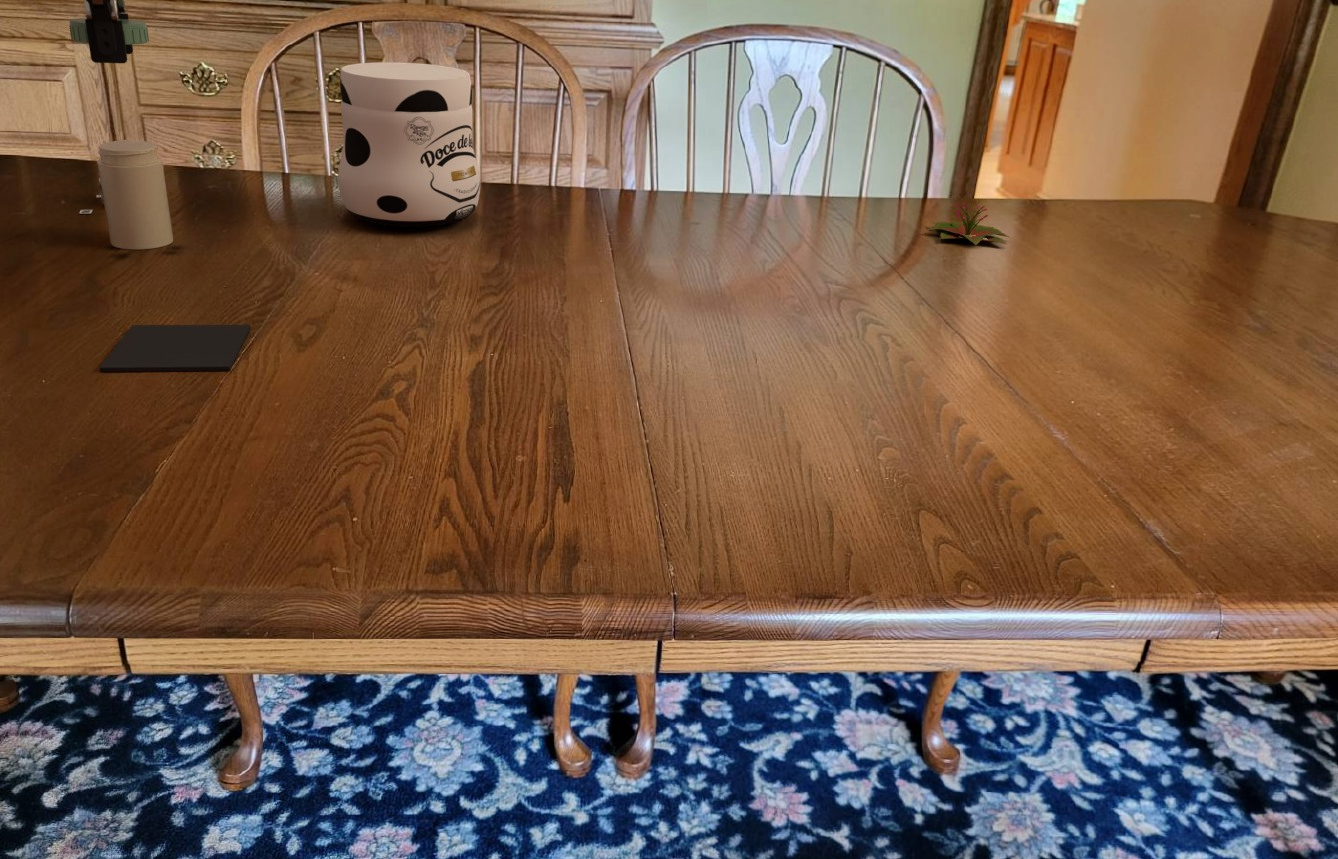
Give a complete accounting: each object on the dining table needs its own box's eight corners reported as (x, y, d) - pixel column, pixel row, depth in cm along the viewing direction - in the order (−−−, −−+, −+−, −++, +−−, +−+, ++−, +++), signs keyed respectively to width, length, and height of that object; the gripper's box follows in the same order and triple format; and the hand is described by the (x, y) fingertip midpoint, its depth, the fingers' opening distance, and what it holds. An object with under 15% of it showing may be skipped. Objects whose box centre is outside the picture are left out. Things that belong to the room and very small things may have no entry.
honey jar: (103, 249, 115) (86, 150, 110) (119, 233, 120) (104, 138, 116) (166, 250, 116) (152, 152, 111) (179, 234, 121) (166, 140, 117)
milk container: (484, 237, 128) (483, 84, 121) (336, 236, 125) (325, 78, 117) (477, 202, 144) (475, 64, 136) (345, 200, 140) (335, 58, 132)
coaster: (99, 372, 86) (99, 367, 85) (132, 328, 94) (132, 324, 94) (230, 370, 88) (229, 366, 87) (250, 328, 96) (250, 324, 96)
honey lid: (156, 39, 111) (154, 20, 111) (139, 46, 105) (136, 25, 104) (83, 36, 110) (80, 16, 109) (61, 42, 104) (58, 21, 103)
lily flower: (1001, 230, 149) (1008, 197, 147) (1021, 253, 138) (1028, 218, 136) (916, 223, 149) (922, 190, 147) (929, 245, 139) (935, 211, 137)
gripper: (120, -138, 95) (148, 70, 102) (134, -132, 109) (158, 49, 117) (25, -146, 92) (61, 68, 100) (52, -139, 107) (81, 47, 114)
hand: (113, 56), depth 108 cm, fingers closed on honey lid, 7 cm apart
